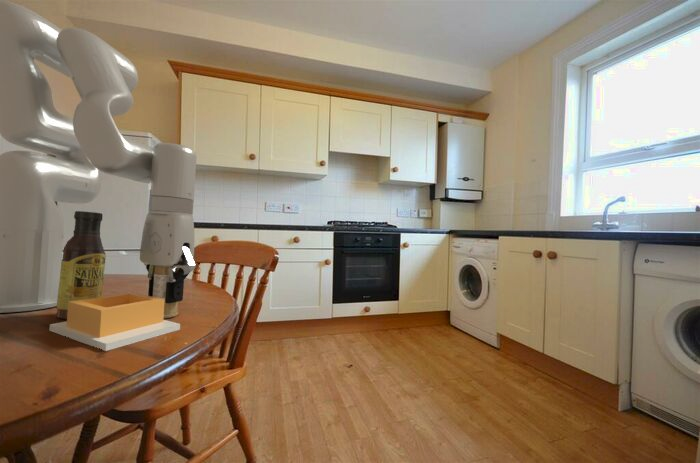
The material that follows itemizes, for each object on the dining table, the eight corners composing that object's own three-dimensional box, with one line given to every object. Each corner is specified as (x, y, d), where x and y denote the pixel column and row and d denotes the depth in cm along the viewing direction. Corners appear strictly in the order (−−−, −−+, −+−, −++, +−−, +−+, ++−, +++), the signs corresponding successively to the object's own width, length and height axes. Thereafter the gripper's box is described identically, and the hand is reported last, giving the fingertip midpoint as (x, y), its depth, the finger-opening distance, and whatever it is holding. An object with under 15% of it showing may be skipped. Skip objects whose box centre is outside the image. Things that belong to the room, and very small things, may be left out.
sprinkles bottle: (177, 312, 61) (181, 247, 61) (177, 318, 57) (182, 249, 57) (150, 314, 58) (155, 247, 59) (149, 320, 54) (154, 248, 55)
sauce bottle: (73, 322, 52) (80, 210, 52) (46, 318, 53) (53, 209, 53) (110, 313, 58) (116, 213, 59) (85, 310, 59) (91, 212, 60)
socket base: (49, 330, 47) (51, 299, 47) (124, 315, 57) (126, 289, 57) (105, 351, 41) (107, 315, 41) (179, 329, 51) (181, 300, 51)
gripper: (125, 205, 58) (118, 297, 58) (182, 206, 51) (175, 311, 51) (162, 209, 65) (157, 291, 65) (218, 210, 58) (211, 302, 58)
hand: (165, 299), depth 58 cm, fingers closed on sprinkles bottle, 4 cm apart
